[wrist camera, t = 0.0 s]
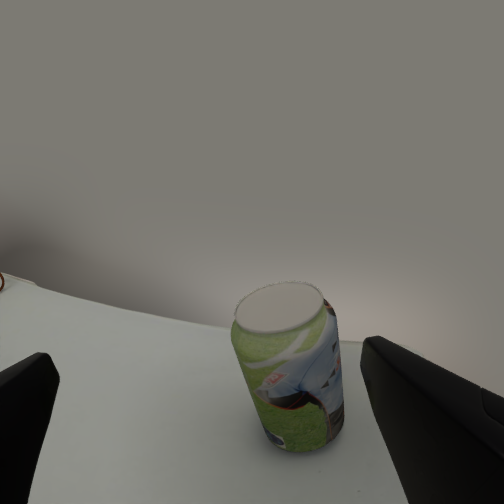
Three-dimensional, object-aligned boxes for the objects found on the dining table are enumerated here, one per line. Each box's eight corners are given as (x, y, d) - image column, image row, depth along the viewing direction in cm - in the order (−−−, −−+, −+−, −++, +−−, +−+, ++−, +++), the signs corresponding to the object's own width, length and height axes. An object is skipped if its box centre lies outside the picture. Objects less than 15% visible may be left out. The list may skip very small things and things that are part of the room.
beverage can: (357, 436, 19) (383, 298, 15) (266, 477, 16) (252, 343, 12) (315, 390, 24) (319, 262, 20) (235, 419, 22) (213, 287, 18)
